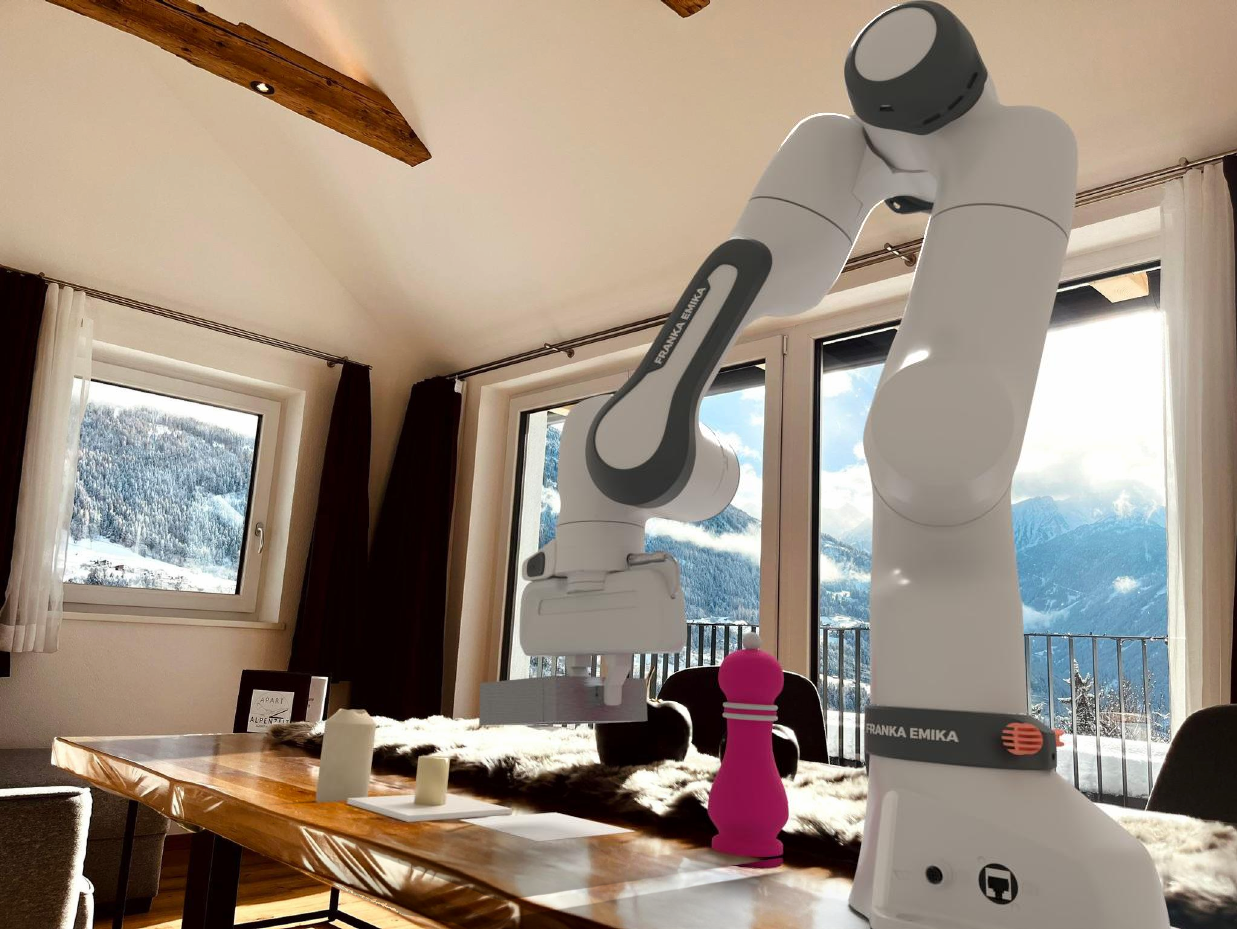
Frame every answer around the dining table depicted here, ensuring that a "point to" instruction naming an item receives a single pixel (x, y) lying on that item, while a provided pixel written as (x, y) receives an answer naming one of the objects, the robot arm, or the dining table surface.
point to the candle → (346, 756)
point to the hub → (429, 798)
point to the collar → (558, 701)
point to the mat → (547, 826)
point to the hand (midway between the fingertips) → (597, 705)
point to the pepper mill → (749, 759)
